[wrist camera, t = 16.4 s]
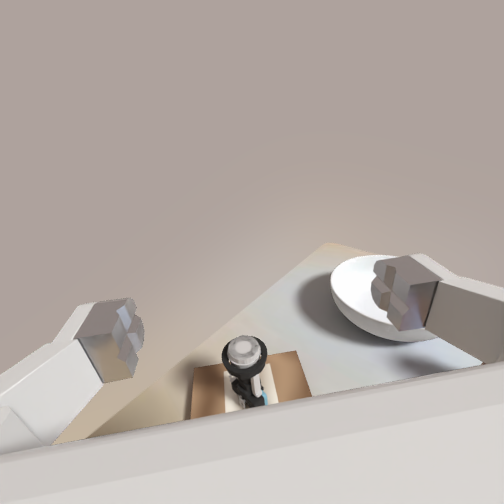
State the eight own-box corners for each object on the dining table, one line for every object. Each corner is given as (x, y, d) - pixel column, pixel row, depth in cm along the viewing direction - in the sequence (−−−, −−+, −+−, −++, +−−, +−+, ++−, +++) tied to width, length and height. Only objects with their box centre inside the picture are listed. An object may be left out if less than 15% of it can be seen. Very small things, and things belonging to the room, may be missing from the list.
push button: (217, 393, 36) (204, 342, 32) (246, 369, 39) (238, 318, 35) (250, 429, 32) (241, 376, 27) (279, 398, 35) (276, 345, 30)
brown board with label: (189, 480, 29) (184, 469, 28) (195, 374, 41) (192, 363, 40) (328, 452, 30) (329, 440, 29) (296, 357, 42) (296, 346, 41)
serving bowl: (473, 377, 37) (490, 342, 34) (320, 342, 44) (321, 311, 41) (442, 289, 53) (451, 260, 50) (335, 275, 61) (336, 249, 58)
